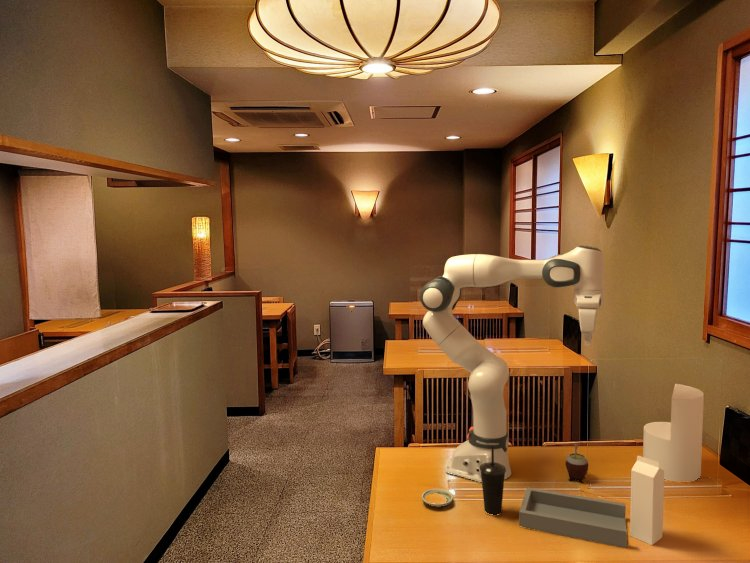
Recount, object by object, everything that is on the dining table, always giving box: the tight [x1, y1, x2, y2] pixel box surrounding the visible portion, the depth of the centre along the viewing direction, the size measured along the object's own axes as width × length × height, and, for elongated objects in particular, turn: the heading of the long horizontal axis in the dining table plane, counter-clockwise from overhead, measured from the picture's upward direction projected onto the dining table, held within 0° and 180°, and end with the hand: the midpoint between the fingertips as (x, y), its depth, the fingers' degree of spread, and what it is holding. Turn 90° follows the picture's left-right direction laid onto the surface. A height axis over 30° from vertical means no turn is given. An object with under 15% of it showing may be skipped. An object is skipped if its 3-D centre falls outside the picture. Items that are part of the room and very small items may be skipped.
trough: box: [518, 486, 628, 549], centre depth 152 cm, size 28×15×4 cm, turn 66°
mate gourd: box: [565, 442, 589, 485], centre depth 176 cm, size 8×8×15 cm
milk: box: [629, 455, 665, 546], centre depth 143 cm, size 6×6×22 cm
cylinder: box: [642, 383, 705, 482], centre depth 180 cm, size 17×17×28 cm
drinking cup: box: [480, 447, 506, 516], centre depth 158 cm, size 8×8×20 cm
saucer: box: [421, 488, 454, 508], centre depth 165 cm, size 10×10×2 cm
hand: (588, 342), depth 166 cm, fingers open, 8 cm apart
